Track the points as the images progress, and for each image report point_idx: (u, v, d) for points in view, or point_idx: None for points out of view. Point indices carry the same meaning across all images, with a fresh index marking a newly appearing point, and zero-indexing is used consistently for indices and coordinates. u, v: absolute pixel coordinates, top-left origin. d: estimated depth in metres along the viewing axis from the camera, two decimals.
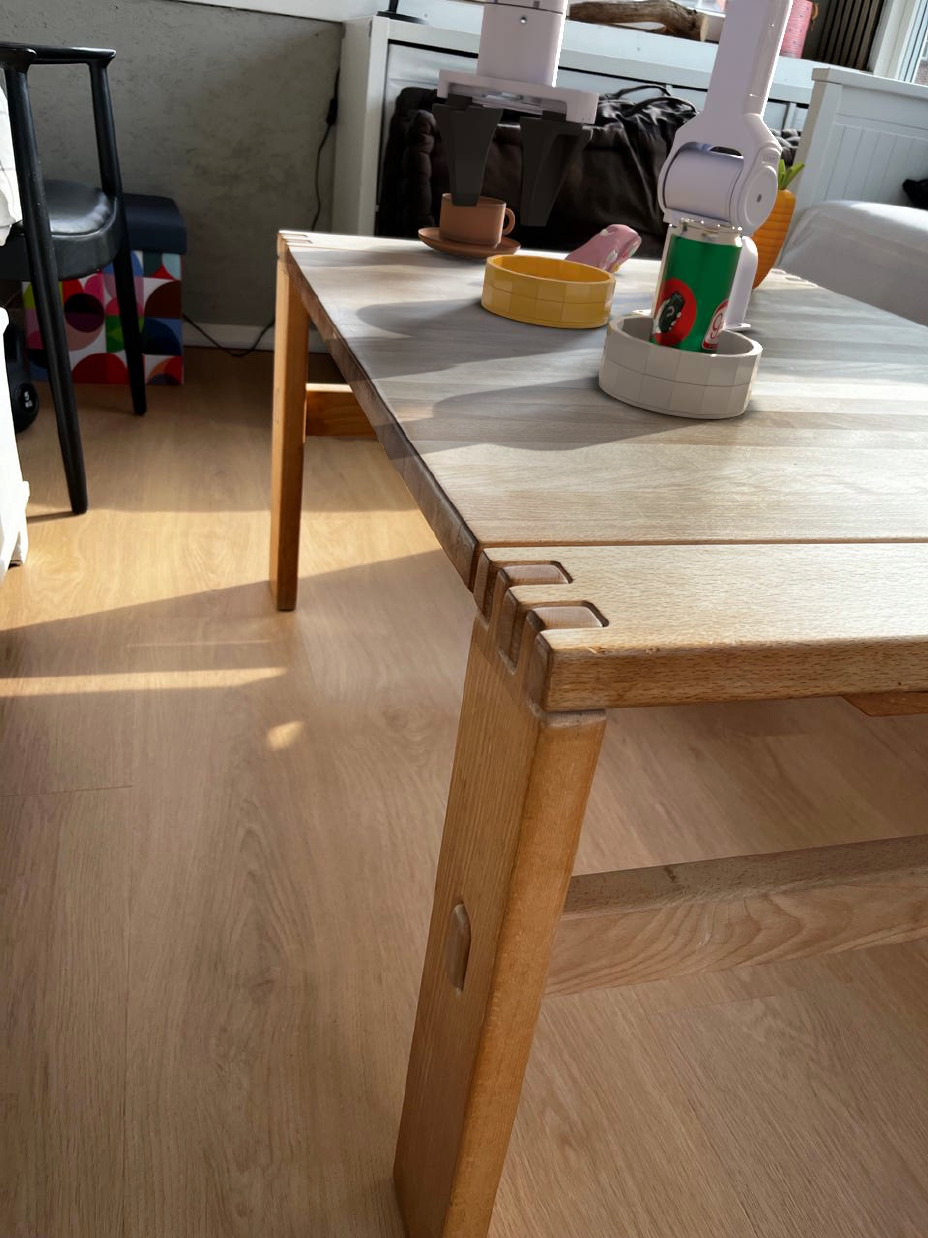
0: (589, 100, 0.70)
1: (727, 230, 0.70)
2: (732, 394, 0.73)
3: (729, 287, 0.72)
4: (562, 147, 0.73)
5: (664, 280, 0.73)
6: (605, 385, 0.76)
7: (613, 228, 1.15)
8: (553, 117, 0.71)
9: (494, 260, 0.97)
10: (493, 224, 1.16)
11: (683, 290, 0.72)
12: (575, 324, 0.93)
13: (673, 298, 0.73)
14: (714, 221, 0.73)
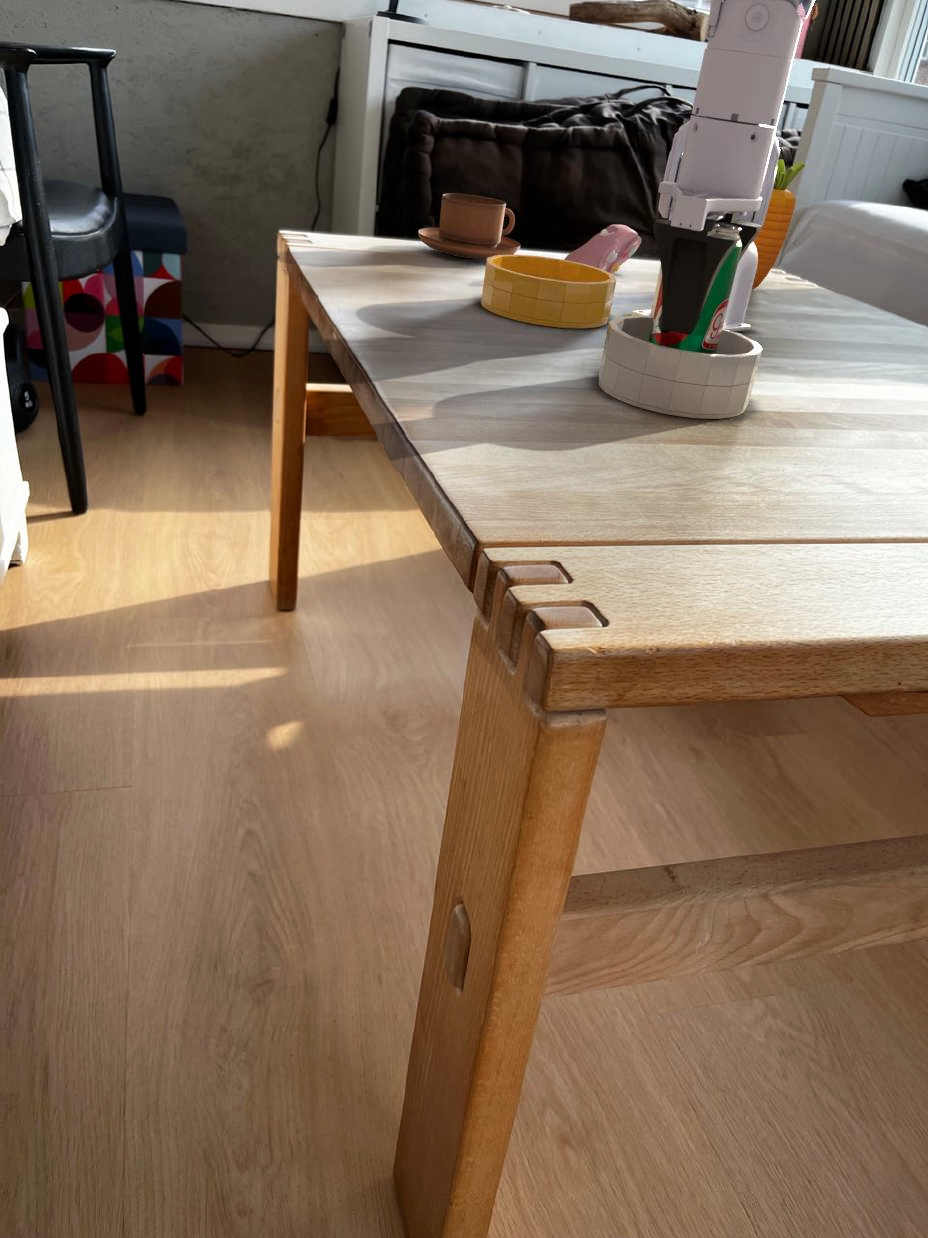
0: (690, 205, 0.65)
1: (727, 230, 0.70)
2: (732, 394, 0.73)
3: (729, 287, 0.72)
4: None
5: None
6: (605, 385, 0.76)
7: (613, 228, 1.15)
8: None
9: (494, 260, 0.97)
10: (493, 224, 1.16)
11: None
12: (575, 324, 0.93)
13: None
14: (714, 221, 0.73)
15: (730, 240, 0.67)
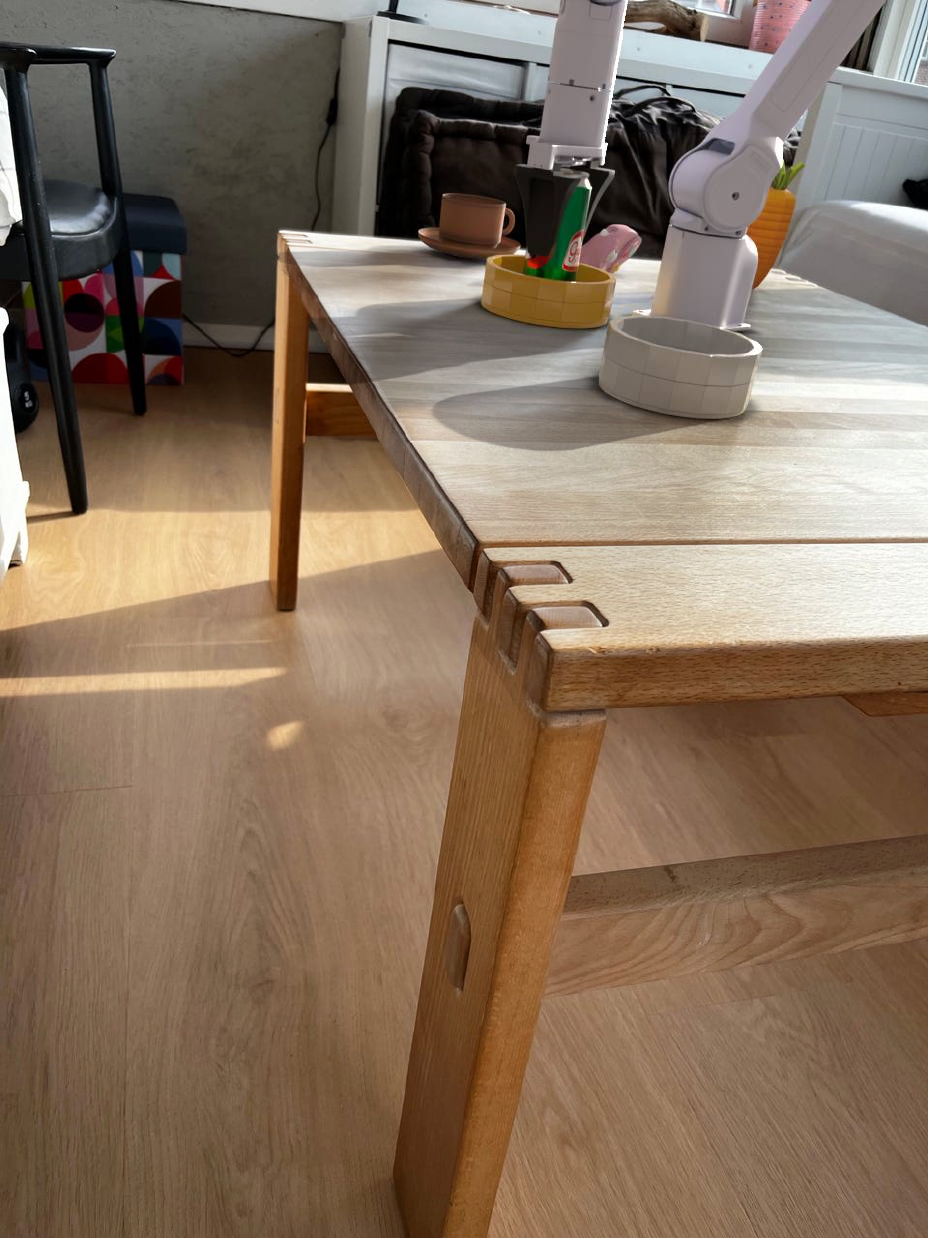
0: (540, 150, 0.85)
1: (576, 175, 0.90)
2: (732, 394, 0.73)
3: (582, 221, 0.93)
4: None
5: None
6: (605, 385, 0.76)
7: (613, 228, 1.15)
8: None
9: (494, 260, 0.97)
10: (493, 224, 1.16)
11: None
12: (575, 324, 0.93)
13: None
14: (571, 169, 0.93)
15: (571, 178, 0.86)
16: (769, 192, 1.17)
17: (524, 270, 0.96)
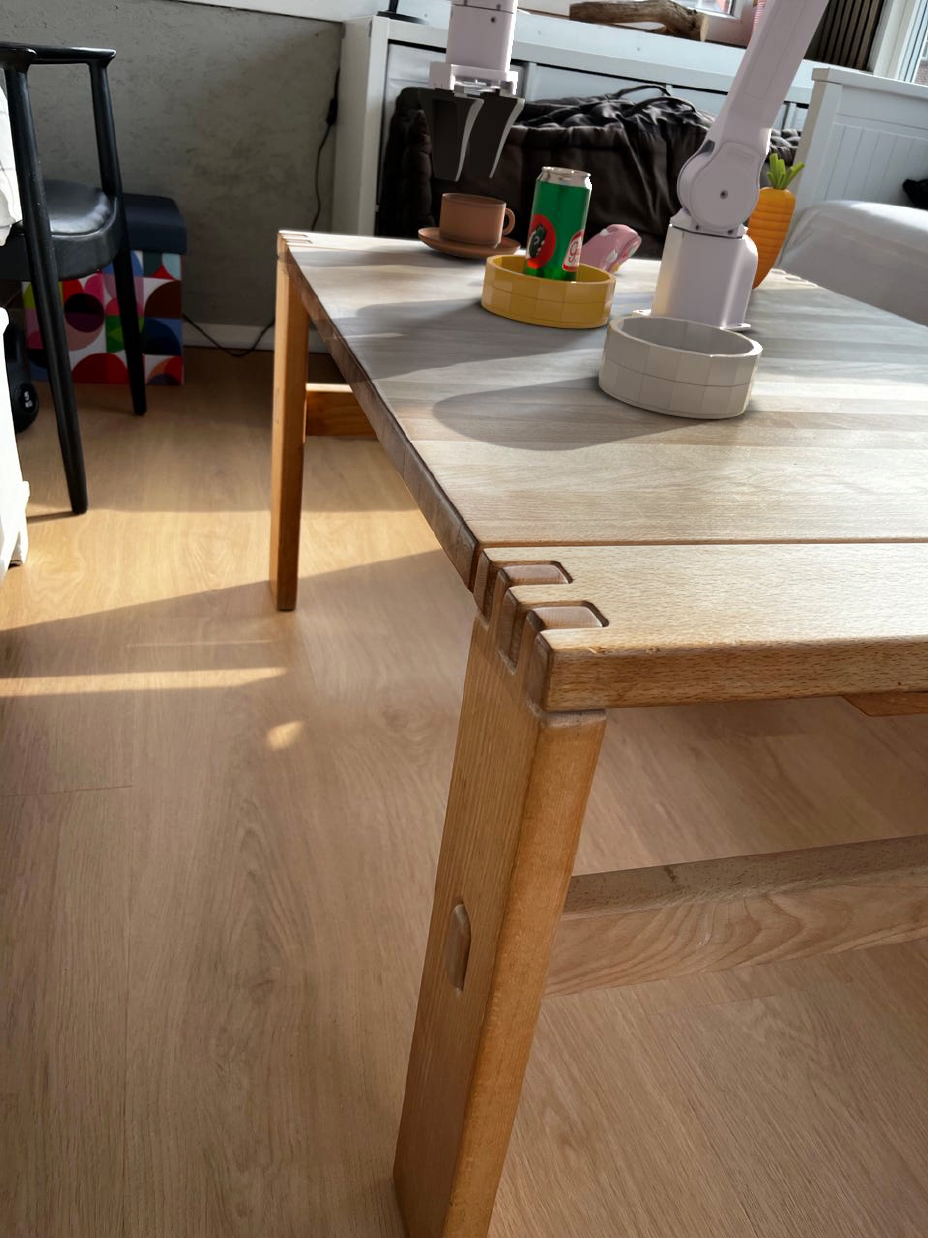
0: (440, 69, 0.86)
1: (576, 175, 0.90)
2: (732, 394, 0.73)
3: (582, 221, 0.93)
4: None
5: (532, 215, 0.93)
6: (605, 385, 0.76)
7: (613, 228, 1.15)
8: None
9: (494, 260, 0.97)
10: (493, 224, 1.16)
11: (545, 222, 0.92)
12: (575, 324, 0.93)
13: (538, 230, 0.93)
14: (571, 169, 0.93)
15: (472, 99, 0.87)
16: (769, 192, 1.17)
17: (524, 270, 0.96)
